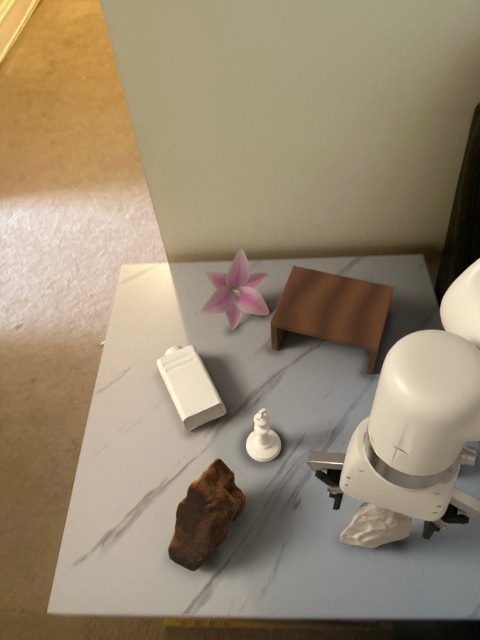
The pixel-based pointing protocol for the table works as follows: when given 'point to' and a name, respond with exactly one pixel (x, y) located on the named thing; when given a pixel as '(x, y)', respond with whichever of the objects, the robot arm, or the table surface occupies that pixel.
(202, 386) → the white bottle
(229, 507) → the decorative rock
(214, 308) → the lily
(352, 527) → the stone tool
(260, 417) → the chess piece
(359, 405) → the table surface
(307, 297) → the shelf
